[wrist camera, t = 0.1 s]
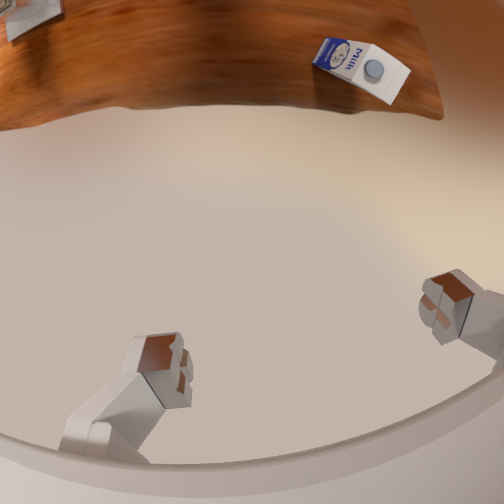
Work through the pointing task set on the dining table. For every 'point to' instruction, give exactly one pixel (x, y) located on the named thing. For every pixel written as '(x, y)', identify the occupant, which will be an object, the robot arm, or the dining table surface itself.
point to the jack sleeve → (28, 15)
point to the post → (4, 4)
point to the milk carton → (363, 67)
